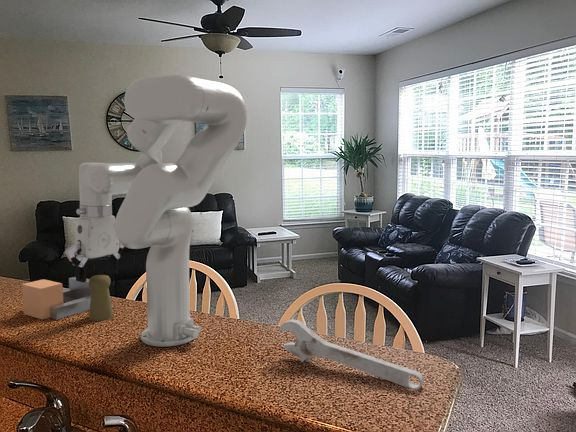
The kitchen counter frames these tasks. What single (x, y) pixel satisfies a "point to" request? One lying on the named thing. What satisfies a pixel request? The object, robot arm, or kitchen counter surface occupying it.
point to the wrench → (344, 355)
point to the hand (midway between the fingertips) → (97, 277)
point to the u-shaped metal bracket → (76, 293)
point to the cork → (100, 298)
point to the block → (41, 297)
